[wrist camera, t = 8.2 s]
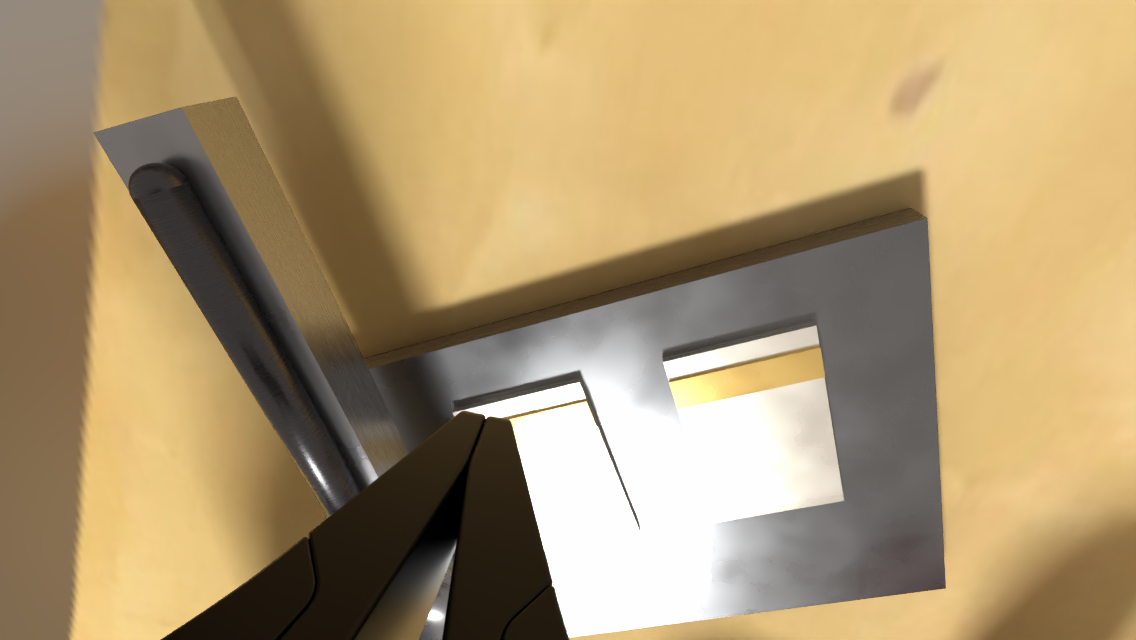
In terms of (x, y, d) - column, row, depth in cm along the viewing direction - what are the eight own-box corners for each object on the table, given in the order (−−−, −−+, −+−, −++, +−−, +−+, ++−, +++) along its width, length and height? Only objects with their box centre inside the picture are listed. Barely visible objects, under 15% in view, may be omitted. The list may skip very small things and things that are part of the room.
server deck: (502, 627, 29) (492, 682, 26) (338, 365, 21) (303, 408, 19) (933, 567, 24) (968, 627, 22) (910, 207, 17) (959, 238, 14)
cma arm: (497, 596, 23) (482, 671, 20) (409, 604, 23) (383, 677, 21) (263, 88, 14) (179, 104, 11) (132, 126, 14) (24, 149, 12)
